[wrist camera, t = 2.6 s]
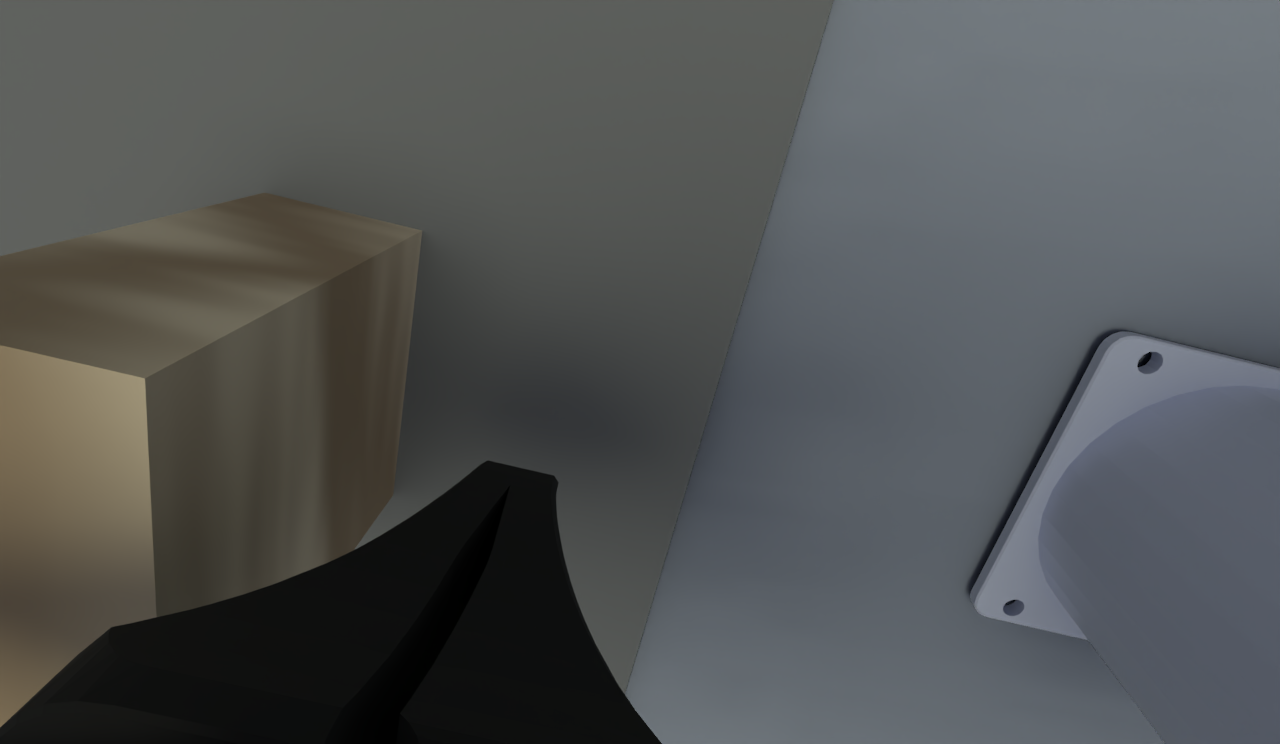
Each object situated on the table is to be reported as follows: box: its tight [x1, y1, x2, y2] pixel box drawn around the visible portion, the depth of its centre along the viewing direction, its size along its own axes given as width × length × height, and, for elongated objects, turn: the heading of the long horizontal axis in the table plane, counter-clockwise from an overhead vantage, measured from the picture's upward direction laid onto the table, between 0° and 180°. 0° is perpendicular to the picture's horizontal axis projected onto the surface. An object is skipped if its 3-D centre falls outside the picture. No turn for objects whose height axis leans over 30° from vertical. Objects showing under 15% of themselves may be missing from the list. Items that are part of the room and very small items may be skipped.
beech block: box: [0, 193, 422, 727], centre depth 13 cm, size 4×7×8 cm, turn 167°
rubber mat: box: [0, 0, 833, 694], centre depth 17 cm, size 22×24×1 cm
